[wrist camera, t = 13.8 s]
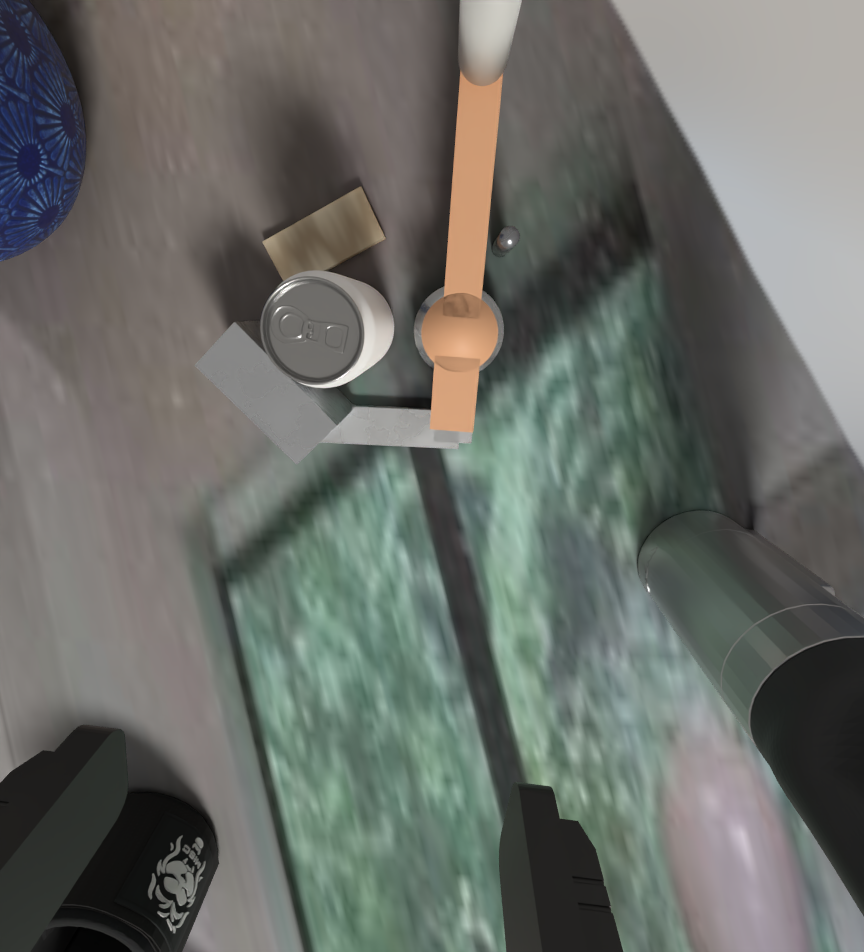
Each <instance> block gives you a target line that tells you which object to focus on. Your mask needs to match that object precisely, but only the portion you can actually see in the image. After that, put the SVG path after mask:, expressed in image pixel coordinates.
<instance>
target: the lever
mask: <svg viewBox="0 0 864 952" xmlns="http://www.w3.org/2000/svg"><path fill="white" fill-rule="evenodd" d="M521 1H522V0H460V13H459V44H458V63H459V67H460V70H461V71H460V85H459V98H458V112H457V125H456V139H455V152H454V166H453V179H452V193H451V207H450V220H449V234H448V247H447V261H446V274H445V288H444V297H442V298H441V299H439V300H438V301H436V302H435V303H434V304H433V305H432V306H431V307H430V309H429V310H428V311H427V313H426V315H425V317H424V320H423V324H422V329H421V337H422V343H423V347H424V349H425V351H426V353H427V355H428V356H429V358H430V359H431V360H432V361H433V362H434V376H433V390H432V404H431V418H430V429H433V430H446V431H459V432H472V433H473V427H474V417H475V407H476V397H477V387H478V377H479V366H481V365H482V364H484V363H485V362H486V361H487V360H488V358H489V357H490V356H491V354H492V353H493V351H494V349H495V347H496V343H497V339H498V325H497V321H496V318H495V315H494V313H493V311H492V310H491V308H490V307H489V306H488V305H487V304H486V303H485V302H484V301H483V300H481V298H482V288H483V277H484V267H485V256H486V246H487V235H488V225H489V214H490V204H491V193H492V183H493V172H494V162H495V152H496V141H497V131H498V120H499V110H500V99H501V89H502V78H503V72H504V70H505V68H506V66H507V62H508V57H509V53H510V49H511V45H512V40H513V36H514V32H515V27H516V23H517V19H518V14H519V10H520V6H521Z"/></svg>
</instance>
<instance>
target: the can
mask: <svg viewBox="0 0 864 952" xmlns="http://www.w3.org/2000/svg"><path fill="white" fill-rule="evenodd" d="M260 333H261V339H262V343H263V346H264V349H265V351H266V353H267V355H268V357H269V358H270V360H271V361H272V363H273V364H274V365H275V366H276V367H277V368H278V369H279V370H280V371H281V372H282V373H283V374H285V375H286V376H287V377H289V378H291V379H293V380H295V381H297V382H299V383H301V384H304V385H306V386H310V387H315V388H331V387H336V386H340V385H343V384H345V383H347V382H349V381H351V380H353V379H354V378H356V377H357V376H359V375H360V374H362V373H363V372H365V371H366V370H367V369H369V368H370V367H371V366H373V365H374V364H375V363H377V362H378V361H379V360H380V359H381V358H382V357H383V356H384V355H385V354H386V352H387V351H388V349H389V347H390V345H391V342H392V339H393V335H394V319H393V315H392V312H391V309H390V307H389V305H388V303H387V301H386V300H385V298H384V297H383V296H382V295H381V294H380V293H379V292H378V291H377V290H376V289H374V288H373V287H371V286H370V285H368V284H366V283H363V282H361V281H358V280H355V279H352V278H349V277H346V276H342V275H339V274H336V273H332V272H327V271H320V270H313V271H305V272H301V273H298V274H295V275H293V276H291V277H289V278H288V279H286V280H285V281H283V282H282V283H281V284H280V285H279V286H278V287H277V288H276V289H275V290H274V291H273V293H272V294H271V295H270V296H269V298H268V299H267V301H266V303H265V305H264V308H263V311H262V314H261V320H260Z"/></svg>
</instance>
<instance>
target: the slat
mask: <svg viewBox="0 0 864 952" xmlns="http://www.w3.org/2000/svg"><path fill="white" fill-rule="evenodd" d="M385 239H386V238H385V236H384V234H383V232H382V229H381V227H380V225H379V223H378V221H377V219H376V217H375V215H374V212H373V210H372V208H371V206H370V204H369V202H368V200H367V197H366V195H365V193H364V191H363V189H362V187H361V186H360V187H358V188H357V189H355V190H353V191H351V192H349V193H348V194H346V195H344V196H342V197H341V198H339V199H337V200H335V201H334V202H332V203H330V204H328V205H326V206H325V207H323V208H321V209H319V210H318V211H316V212H314V213H312V214H311V215H309V216H307V217H305V218H303V219H302V220H300V221H298V222H296V223H295V224H293V225H291V226H289V227H287V228H286V229H284V230H282V231H280V232H279V233H277V234H275V235H273V236H272V237H270V238H268V239H266V240H264V241H263V244H264V246H265V248H266V250H267V252H268V253H269V255H270V257H271V259H272V261H273V263H274V265H275V267H276V268H277V270H278V272H279V274H280V276H281V278H282V280H283V281H285V280H286V279H288V278H289V277H291V276H293V275H295V274H298V273H301V272H305V271H313V270H320V271H328V270H329V269H331V268H333V267H335V266H337V265H339V264H341V263H342V262H344V261H346V260H348V259H350V258H352V257H353V256H355V255H357V254H359V253H361V252H363V251H364V250H366V249H368V248H370V247H372V246H374V245H375V244H377V243H379V242H381V241H383V240H385Z"/></svg>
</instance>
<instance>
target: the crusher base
mask: <svg viewBox="0 0 864 952" xmlns="http://www.w3.org/2000/svg"><path fill="white" fill-rule="evenodd" d="M519 238H520V234H519V231H518V229H517V228H516V227H514V226H506V227H505V228H503V230H502V231H501V232H500V234H499V236H498V237H497V239H496V240H495V242H494V243H493V245H492V252H493V254H494V255H495V256H497V257H503V256H505V255H506V254H507V253H508V252H509V251H510V250H511V249H512V248H513V247H514V246H515V245H516V244H517V243H518V241H519ZM444 288H445V286H444V287H442V288H440V289H438V290H436V291H435V292H433V293H432V294H431V295H430V296H428V298H427V299H426V300H425V301H424V302H423V304H422V305H421V307H420V309H419V311H418V313H417V316H416V319H415V324H414V338H415V343H416V346H417V349H418V351H419V353H420V355H421V357H422V358H423V360H424V361H425V362H426V363H427V364H428V365H429V366H430V367H431V368H433V369H434V362H433V361H432V360H431V359H430V358H429V356H428V355H427V353H426V351H425V349H424V347H423V343H422V337H421V329H422V324H423V320H424V317H425V315H426V313H427V311H428V310H429V309H430V307H431V306H432V305H433V304H434V303H435V302H436V301H438V300H439V299H441V298H442V297H444ZM481 300H483V301H484V302H485V303H486V304H487V305H488V306H489V307H490V308H491V310H492V311H493V313H494V315H495V318H496V321H497V325H498V339H497V343H496V347H495V349H494V351H493V353H492V354H491V356H490V357H489V358H488V360H487V361H486V362H485V363H484V364H482V365H481V366H479V371H481V370H483V369H484V368H485V367H487V366H488V365H489V364H490V363H491V362H492V361H493V359H494V358H495V357H496V355H497V353H498V352H499V349H500V347H501V344H502V341H503V335H504V325H503V319H502V315H501V312H500V310H499V308H498V306H497V304H496V303H495V301H494V300H493V299H492V298H491V297H490V296H489V295H488V294H487V293H486V292H484V291H483V290H482V298H481ZM195 366H196V367H197V368H198V369H199V370H200V371H201V372H202V373H203V374H204V375H205V376H206V377H207V378H208V379H209V380H210V381H211V382H212V383H213V384H214V385H215V386H216V387H217V388H218V389H219V390H220V391H221V392H222V393H223V394H224V395H226V396H227V397H228V398H229V399H230V400H231V401H232V402H233V403H234V404H235V405H236V406H237V407H238V408H239V409H240V410H241V411H242V412H243V413H244V414H245V415H246V416H247V417H248V418H249V419H250V420H251V421H252V422H253V423H254V424H255V425H256V426H257V427H259V428H260V429H261V430H262V431H263V432H264V433H265V434H266V435H267V436H268V437H269V438H270V439H271V440H272V441H273V442H274V443H275V444H276V445H277V446H278V447H279V448H280V449H281V450H282V451H283V452H284V453H285V454H286V455H287V456H288V457H289V458H290V459H291V460H293V461H294V462H295V463H296V464H298V463H299V462H300V461H301V460H302V459H303V458H304V457H305V456H306V455H307V454H308V453H309V452H310V451H311V450H312V449H313V448H314V447H316V446H317V445H318V444H319V443H320V442H324V443H345V444H366V445H387V446H408V447H429V448H451V449H458V446H459V443H471V441H472V432H459V431H446V430H433V429H430V418H431V408H415V407H393V406H372V405H353V404H352V403H351V401H350V400H349V399H348V398H347V397H346V396H345V395H344V394H343V393H342V392H341V391H340V390H339V389H338V388H337V387H331V388H315V387H310V386H306V385H304V384H301V383H299V382H297V381H295V380H293V379H291V378H289V377H287V376H286V375H285V374H283V373H282V372H281V371H280V370H279V369H278V368H277V367H276V366H275V365H274V364H273V363H272V361H271V360H270V358H269V357H268V355H267V353H266V351H265V349H264V346H263V343H262V339H261V333H260V320H257V321H237V322H234V323H233V324H232V325H231V326H230V327H229V328H228V329H227V330H226V332H225V333H224V334H223V335H222V336H221V337H220V338H219V339H218V340H217V341H216V343H215V344H214V345H213V346H212V347H211V348H210V349H209V350H208V351H207V352H206V354H205V355H204V356H203V357H202V358H201V359H200V360H199V361H198V362H197V363H196V365H195Z"/></svg>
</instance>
